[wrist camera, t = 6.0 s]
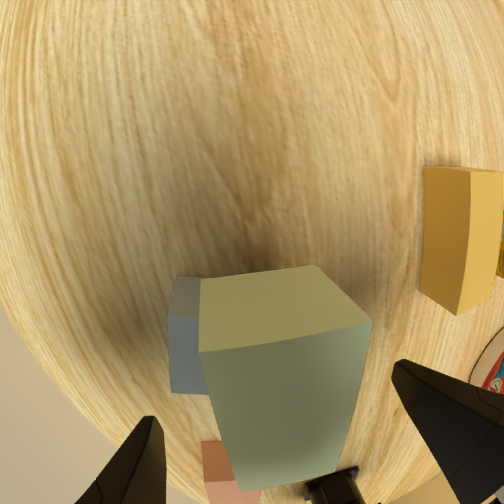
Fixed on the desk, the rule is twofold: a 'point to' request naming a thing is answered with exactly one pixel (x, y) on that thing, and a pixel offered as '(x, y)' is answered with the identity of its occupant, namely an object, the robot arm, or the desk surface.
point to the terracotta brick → (223, 477)
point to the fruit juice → (491, 366)
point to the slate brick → (185, 337)
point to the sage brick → (281, 371)
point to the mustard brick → (461, 235)
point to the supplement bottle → (501, 254)
